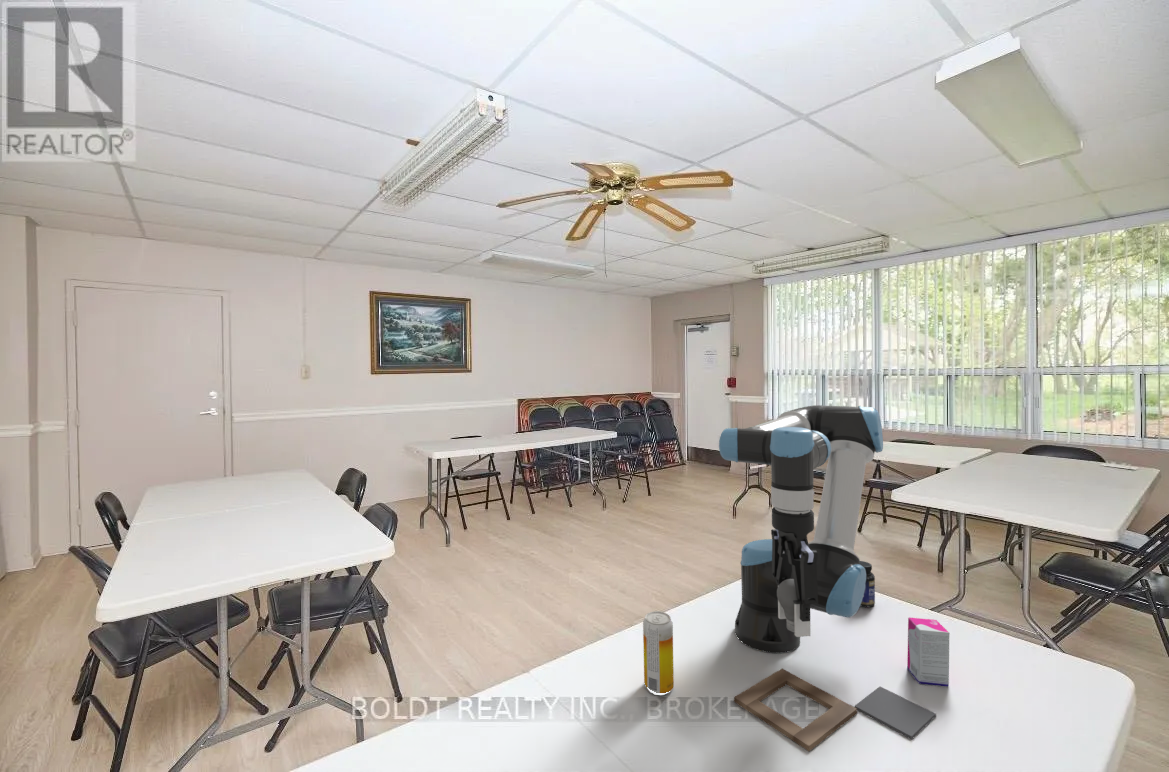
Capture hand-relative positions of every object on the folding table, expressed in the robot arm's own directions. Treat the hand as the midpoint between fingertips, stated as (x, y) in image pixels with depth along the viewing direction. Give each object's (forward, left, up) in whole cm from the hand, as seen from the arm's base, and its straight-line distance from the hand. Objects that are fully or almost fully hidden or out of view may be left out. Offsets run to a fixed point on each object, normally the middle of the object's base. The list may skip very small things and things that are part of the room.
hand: (793, 626), depth 97 cm
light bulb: (0, 0, -1) cm, 1 cm away
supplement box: (+11, +31, -16) cm, 37 cm away
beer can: (-20, -17, -16) cm, 31 cm away
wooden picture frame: (0, 0, -16) cm, 16 cm away
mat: (+12, +14, -16) cm, 24 cm away
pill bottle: (-14, +54, -16) cm, 58 cm away
